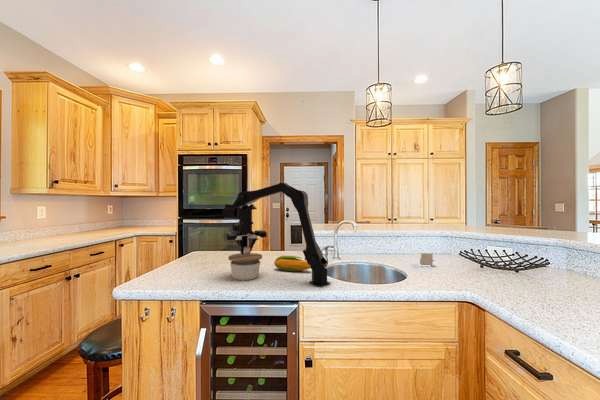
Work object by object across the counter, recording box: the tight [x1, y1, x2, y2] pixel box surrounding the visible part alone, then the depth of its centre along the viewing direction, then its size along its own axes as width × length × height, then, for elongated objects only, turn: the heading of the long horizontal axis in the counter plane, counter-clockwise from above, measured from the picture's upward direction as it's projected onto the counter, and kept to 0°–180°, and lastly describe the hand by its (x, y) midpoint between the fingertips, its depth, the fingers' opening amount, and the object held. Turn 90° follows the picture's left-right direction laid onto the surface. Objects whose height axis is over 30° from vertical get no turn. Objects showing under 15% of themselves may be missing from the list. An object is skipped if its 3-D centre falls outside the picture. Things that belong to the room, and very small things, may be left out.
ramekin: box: [230, 260, 261, 281], centre depth 121 cm, size 13×13×7 cm
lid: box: [227, 246, 263, 262], centre depth 121 cm, size 15×15×5 cm
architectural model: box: [419, 252, 435, 265], centre depth 142 cm, size 3×7×7 cm, turn 81°
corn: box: [273, 255, 311, 273], centre depth 132 cm, size 7×8×20 cm
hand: (245, 254), depth 121 cm, fingers closed on lid, 3 cm apart
